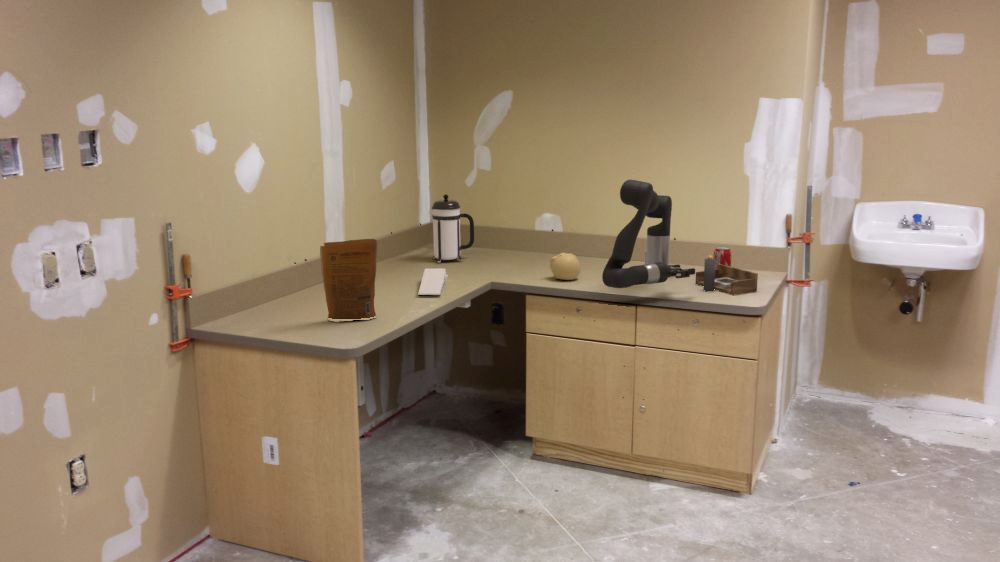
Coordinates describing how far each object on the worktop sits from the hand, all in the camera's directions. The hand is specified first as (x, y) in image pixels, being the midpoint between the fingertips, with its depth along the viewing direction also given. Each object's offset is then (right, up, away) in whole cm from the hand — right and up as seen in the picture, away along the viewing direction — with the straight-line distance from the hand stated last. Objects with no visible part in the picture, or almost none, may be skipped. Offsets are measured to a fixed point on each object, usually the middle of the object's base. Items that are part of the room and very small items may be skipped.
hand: (687, 269), depth 333 cm
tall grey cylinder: (+10, -8, +8) cm, 15 cm away
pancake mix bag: (-120, -18, -30) cm, 125 cm away
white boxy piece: (-96, -8, +14) cm, 98 cm away
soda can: (+21, -3, +31) cm, 38 cm away
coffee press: (-93, +5, +69) cm, 115 cm away
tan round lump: (-43, -4, +29) cm, 52 cm away
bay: (+17, -7, +12) cm, 22 cm away
